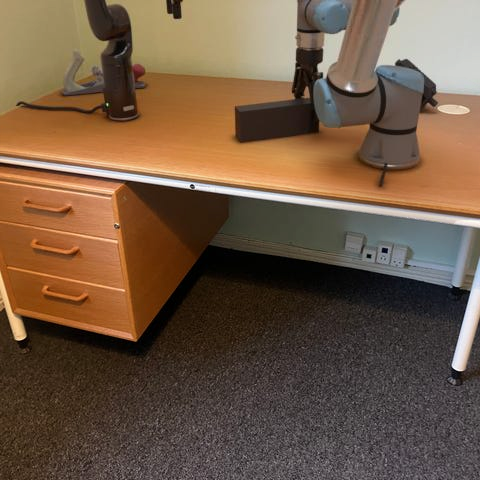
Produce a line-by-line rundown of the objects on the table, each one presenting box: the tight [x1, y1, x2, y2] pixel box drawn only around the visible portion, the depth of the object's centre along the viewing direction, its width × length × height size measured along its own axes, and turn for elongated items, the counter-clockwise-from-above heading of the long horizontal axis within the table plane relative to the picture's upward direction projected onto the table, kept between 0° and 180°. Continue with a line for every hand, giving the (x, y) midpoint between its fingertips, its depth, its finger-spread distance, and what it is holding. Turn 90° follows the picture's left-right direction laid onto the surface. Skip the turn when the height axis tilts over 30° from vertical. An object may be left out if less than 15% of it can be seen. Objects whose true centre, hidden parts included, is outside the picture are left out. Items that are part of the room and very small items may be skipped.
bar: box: [234, 97, 320, 143], centre depth 153 cm, size 24×5×9 cm, turn 107°
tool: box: [394, 58, 439, 110], centre depth 172 cm, size 6×19×15 cm, turn 51°
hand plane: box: [61, 48, 146, 96], centre depth 194 cm, size 7×31×15 cm, turn 107°
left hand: (174, 16), depth 146 cm, fingers open, 8 cm apart
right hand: (305, 125), depth 157 cm, fingers open, 10 cm apart
